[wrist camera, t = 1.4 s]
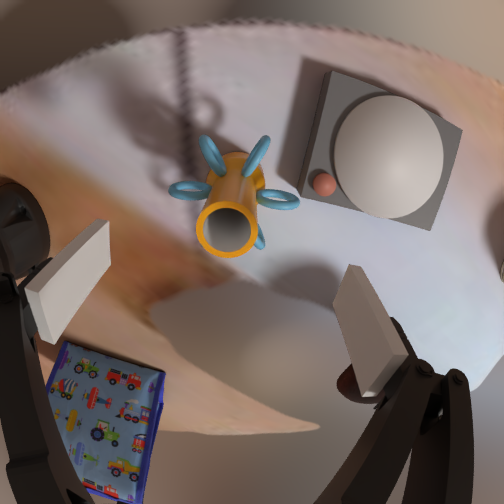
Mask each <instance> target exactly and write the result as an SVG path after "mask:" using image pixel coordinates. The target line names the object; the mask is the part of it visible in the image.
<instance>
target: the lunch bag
mask: <svg viewBox="0 0 504 504" xmlns="http://www.w3.org/2000/svg"><path fill="white" fill-rule="evenodd" d="M165 375H166V373H164V372H159V371H156V370H152V369H149V368H145V367H141V366H138V365H134V364H131V363H128V362H125V361H121V360H118V359H115V358H112V357H109V356H106V355H103V354H100V353H97V352H94V351H91V350H88V349H85V348H82V347H79V346H77V345H74V344H72V343H69V342H67V341H64V342H63V344H62V347H61V349H60V352H59V354H58V357H57V360H56V362H55V364H54V366H53V369H52V371H51V374H50V376H49V379H48V381H47V384H46V391H47V395H48V398H49V402H50V405H51V408H52V412H53V415H54V418H55V421H56V424H57V427H58V430H59V432H60V435H61V438H62V440H63V443H64V446H65V448H66V451H67V453H68V455H69V458H70V460H71V462H72V465H73V467H74V469H75V471H76V473H77V476H78V477H79V479H80V481H81V482H82V484H83V485H84V487H85V488H86V489H87V491H88V492H89V493H92V494H96V495H99V496H102V497H105V498H108V499H111V500H114V501H118V500H119V501H122V502H125V503H129V504H143V498H144V491H145V486H146V481H147V475H148V470H149V466H150V457H151V454H152V449H153V445H154V441H155V437H156V433H157V429H158V425H159V421H160V417H161V413H162V410H163V405H164V403H163V392H164V380H165Z"/></svg>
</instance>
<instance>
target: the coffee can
mask: <svg viewBox="0 0 504 504" xmlns="http://www.w3.org/2000/svg"><path fill="white" fill-rule="evenodd" d="M500 277H501V280H502V282H503V283H504V261H503V264H502V267H501V273H500Z"/></svg>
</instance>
